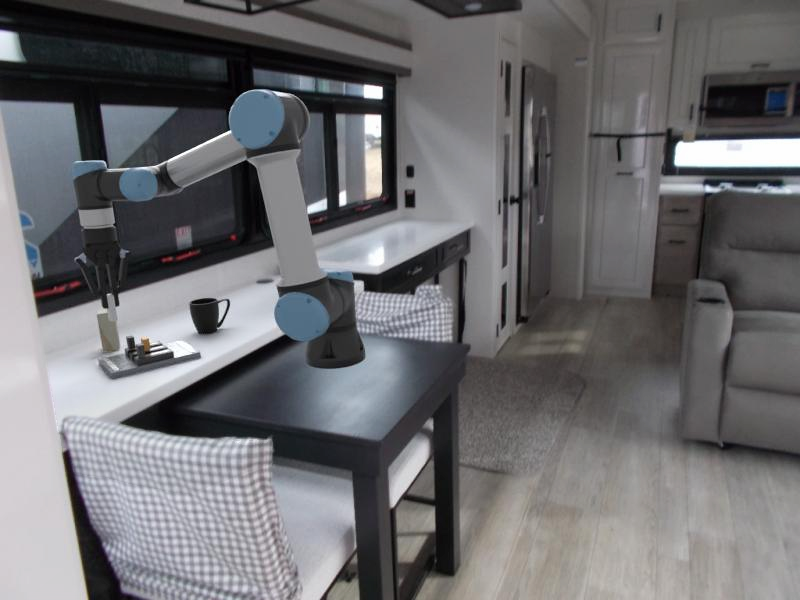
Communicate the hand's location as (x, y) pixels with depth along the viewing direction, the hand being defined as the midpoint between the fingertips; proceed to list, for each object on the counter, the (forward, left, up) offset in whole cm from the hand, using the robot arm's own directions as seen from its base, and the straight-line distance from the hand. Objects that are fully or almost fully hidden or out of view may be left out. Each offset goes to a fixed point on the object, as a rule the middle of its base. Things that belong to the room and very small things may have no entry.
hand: (113, 319), depth 155 cm
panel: (0, -7, -13) cm, 15 cm away
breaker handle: (0, -7, -9) cm, 12 cm away
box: (+19, -2, -13) cm, 23 cm away
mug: (+15, -30, -13) cm, 36 cm away
